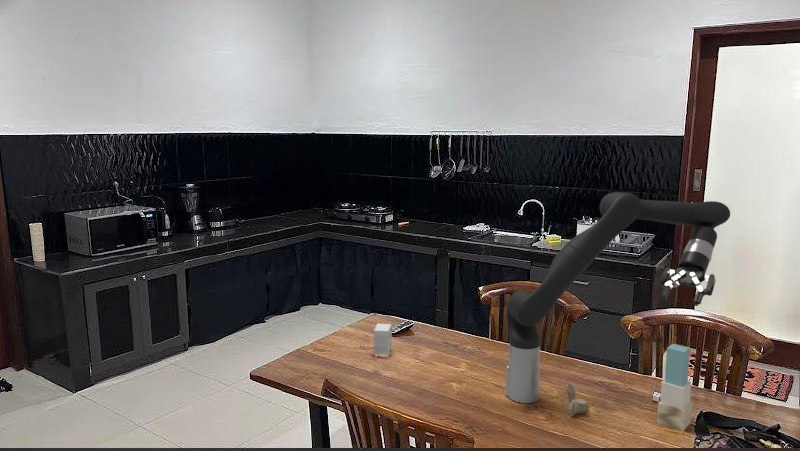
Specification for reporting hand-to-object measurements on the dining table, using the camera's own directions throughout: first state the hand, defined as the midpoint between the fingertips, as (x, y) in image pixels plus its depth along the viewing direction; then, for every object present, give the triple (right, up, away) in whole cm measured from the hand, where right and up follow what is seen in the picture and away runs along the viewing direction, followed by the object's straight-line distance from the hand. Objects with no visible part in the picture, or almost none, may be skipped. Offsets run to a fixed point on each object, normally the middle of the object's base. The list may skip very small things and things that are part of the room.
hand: (679, 301), depth 164 cm
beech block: (-4, -33, -5) cm, 34 cm away
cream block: (-4, -27, -6) cm, 28 cm away
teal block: (-4, -21, -7) cm, 23 cm away
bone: (-30, -33, +1) cm, 44 cm away
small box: (-88, -26, +48) cm, 103 cm away
